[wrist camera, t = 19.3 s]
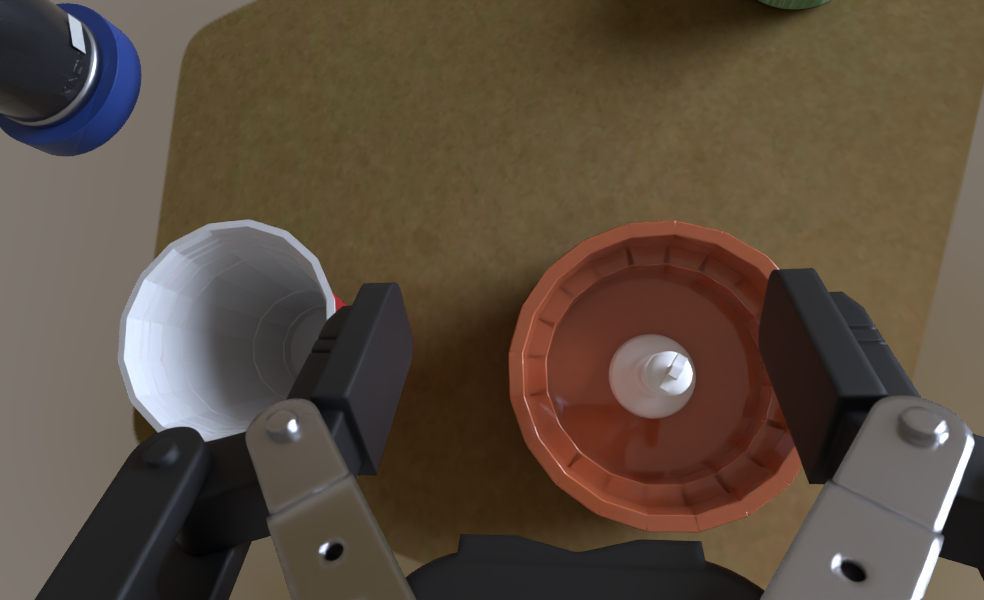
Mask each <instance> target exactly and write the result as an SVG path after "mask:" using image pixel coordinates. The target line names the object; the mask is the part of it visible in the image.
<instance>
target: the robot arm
mask: <svg viewBox="0 0 984 600" xmlns="http://www.w3.org/2000/svg"><path fill="white" fill-rule="evenodd" d="M102 69H103V53H102V48H101V45H100V42H99V40H98V38H97V36H96V35H95V33H94V32H93V31H92V29H91V28H89V27H88V26H87V25H86V24H84V23H83V22H82V21H80V20H79V19H77V18H76V17H75V16H73V15H71V14H69V13H67V12H65V11H64V10H63V9H61V8H60V7H58V6H57V5H56V4H54V3H53V2H51V1H50V0H0V113H1V114H3V115H4V116H6V117H7V118H9V119H11V120H13V121H15V122H17V123H20V124H22V125H24V126H27V127H30V128H36V129H45V128H51V127H55V126H58V125H60V124H63V123H65V122H67V121H68V120H70V119H71V118H73V117H74V116H76V115H77V114H78V113H79V112H80V111H81V110H82V109H83V108H84V107H85V106H86V105H87V104H88V102H89V101H90V100H91V98H92V96H93V95H94V93H95V91H96V89H97V87H98V84H99V82H100V79H101V75H102ZM758 342H759V350H760V354H761V357H762V360H763V363H764V365H765V368H766V371H767V373H768V376H769V378H770V381H771V384H772V386H773V389H774V392H775V394H776V397H777V400H778V402H779V405H780V407H781V410H782V413H783V415H784V418H785V421H786V423H787V426H788V429H789V431H790V434H791V436H792V439H793V442H794V444H795V447H796V450H797V452H798V455H799V458H800V460H801V463H802V466H803V468H804V471H805V473H806V476H807V479H808V481H809V484H825V485H824V487H823V488H822V490H821V492H820V494H819V495H818V497H817V499H816V501H815V503H814V504H813V506H812V508H811V510H810V511H809V513H808V515H807V517H806V519H805V520H804V522H803V524H802V526H801V528H800V529H799V531H798V533H797V535H796V536H795V538H794V540H793V542H792V544H791V545H790V547H789V549H788V551H787V552H786V554H785V556H784V558H783V560H782V561H781V563H780V565H779V567H778V568H777V570H776V572H775V574H774V576H773V577H772V579H771V581H770V583H769V584H768V586H767V588H766V590H765V591H764V590H763V589H762V588H760V587H759V586H757V585H756V584H754V583H753V582H751V581H750V580H748V579H746V578H745V577H743V576H741V575H739V574H737V573H735V572H733V571H731V570H729V569H727V568H724V567H722V566H719V565H717V564H714V563H710V562H707V561H705V558H704V553H703V548H702V542H701V541H671V540H635V541H630V542H626V543H621V544H616V545H612V546H607V547H603V548H598V549H593V550H589V551H584V552H573V551H569V550H565V549H562V548H558V547H555V546H551V545H548V544H544V543H541V542H537V541H534V540H530V539H527V538H523V537H520V536H509V535H477V534H460V540H459V546H458V552H456V553H452V554H449V555H446V556H443V557H440V558H437V559H435V560H433V561H431V562H429V563H427V564H425V565H423V566H421V567H420V568H418V569H417V570H415V571H414V572H412V573H411V574H410V575H408V576H407V577H406V578H405V576H404V574H403V572H402V571H401V568H400V566H399V564H398V562H397V560H396V558H395V556H394V554H393V552H392V550H391V549H390V547H389V545H388V543H387V541H386V539H385V537H384V535H383V533H382V531H381V529H380V527H379V525H378V523H377V521H376V519H375V517H374V515H373V513H372V511H371V509H370V507H369V505H368V503H367V501H366V499H365V497H364V495H363V493H362V491H361V489H360V487H359V485H358V484H357V482H356V480H357V477H358V475H377V471H378V468H379V465H380V462H381V458H382V455H383V452H384V449H385V445H386V442H387V439H388V436H389V432H390V429H391V426H392V423H393V419H394V416H395V413H396V410H397V406H398V403H399V400H400V397H401V393H402V390H403V387H404V384H405V380H406V377H407V374H408V371H409V367H410V364H411V361H412V356H413V337H412V332H411V328H410V324H409V321H408V317H407V313H406V309H405V305H404V302H403V298H402V294H401V290H400V287H399V285H398V284H397V283H370V284H363V285H362V286H361V288H360V290H359V292H358V295H357V297H356V299H355V301H354V303H353V305H352V306H342V307H341V308H340V309H338V310H337V311H336V312H335V313H334V314H333V315H332V316H331V317H330V318H329V319H328V320H326V322H325V324H324V326H323V328H322V330H321V332H320V334H319V336H318V340H316V342H315V344H314V346H313V348H312V350H311V353H309V355H308V357H307V359H306V361H305V363H304V365H303V367H302V369H301V371H300V373H299V375H298V377H297V379H296V381H295V383H294V385H293V386H292V388H291V390H290V392H289V394H288V396H287V398H286V400H283V401H280V402H277V403H275V404H273V405H271V406H269V407H267V408H266V409H264V410H263V411H262V412H260V413H259V414H258V415H257V416H256V417H255V418H254V419H253V420H252V422H251V423H250V425H249V427H248V429H247V431H245V432H242V433H238V434H235V435H231V436H227V437H223V438H219V439H215V440H212V441H208V442H205V441H204V439H203V438H202V436H201V435H200V433H199V432H198V431H197V430H196V429H193V428H191V427H184V426H180V427H173V428H169V429H166V430H163V431H160V432H158V433H156V434H154V435H152V436H151V437H149V438H148V439H146V440H145V441H143V442H142V443H141V444H140V445H139V446H137V447H136V449H134V451H133V452H132V453H131V454H130V456H129V457H128V458H127V460H126V462H125V463H124V465H123V466H122V468H121V469H120V471H119V472H118V474H117V475H116V477H115V478H114V480H113V481H112V483H111V484H110V486H109V487H108V489H107V490H106V492H105V494H104V495H103V497H102V498H101V499H100V501H99V502H98V504H97V506H96V507H95V509H94V510H93V512H92V513H91V515H90V516H89V518H88V520H87V521H86V522H85V524H84V526H83V527H82V528H81V530H80V531H79V533H78V535H77V536H76V537H75V539H74V541H73V542H72V544H71V545H70V547H69V548H68V550H67V551H66V553H65V554H64V556H63V557H62V559H61V560H60V562H59V563H58V565H57V567H56V568H55V569H54V571H53V573H52V574H51V576H50V577H49V579H48V580H47V582H46V583H45V585H44V586H43V588H42V589H41V591H40V592H39V594H38V595H37V597H36V598H35V600H229V597H230V595H231V592H232V590H233V587H234V584H235V582H236V580H237V577H238V574H239V572H240V570H241V567H242V564H243V562H244V559H245V557H246V554H247V552H248V549H249V546H250V544H251V542H252V541H254V540H258V539H261V538H265V537H268V536H271V537H272V540H273V543H274V546H275V550H276V553H277V556H278V559H279V562H280V565H281V568H282V571H283V574H284V577H285V581H286V584H287V586H288V590H289V593H290V596H291V599H292V600H922V599H923V596H924V593H925V591H926V588H927V585H928V582H929V580H930V577H931V574H932V571H933V569H934V566H935V563H936V561H937V558H938V557H942V558H945V559H948V560H952V561H955V562H959V563H962V564H965V565H969V566H972V567H975V568H978V570H979V572H980V574H981V576H982V578H983V580H984V437H982V436H978V435H975V434H972V433H971V431H970V429H969V427H968V426H967V425H966V424H965V422H964V421H963V420H962V419H960V418H959V417H958V416H957V415H956V414H955V413H953V412H952V411H950V410H949V409H947V408H945V407H943V406H942V405H940V404H937V403H934V402H933V401H930V400H927V399H924V398H921V396H920V395H919V393H918V391H917V390H916V388H915V387H914V385H913V384H912V382H911V381H910V379H909V377H908V376H907V374H906V373H905V371H904V370H903V368H902V367H901V365H900V363H899V362H898V360H897V359H896V357H895V356H894V354H893V353H892V351H891V349H890V348H889V346H888V345H887V344H885V340H884V339H883V337H882V335H881V334H880V332H879V331H878V329H875V325H874V323H873V321H872V320H871V318H870V317H869V315H868V314H867V312H866V311H865V309H864V307H862V306H861V305H860V304H858V303H857V302H855V301H854V300H853V299H851V298H850V297H849V296H847V295H846V294H845V293H843V292H828V291H827V289H826V287H825V286H824V284H823V282H822V280H821V279H820V277H819V275H818V274H817V272H816V271H815V270H814V269H813V268H806V269H778V270H772V272H771V273H770V276H769V279H768V284H767V289H766V294H765V299H764V304H763V309H762V314H761V319H760V324H759V330H758Z"/></svg>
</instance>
